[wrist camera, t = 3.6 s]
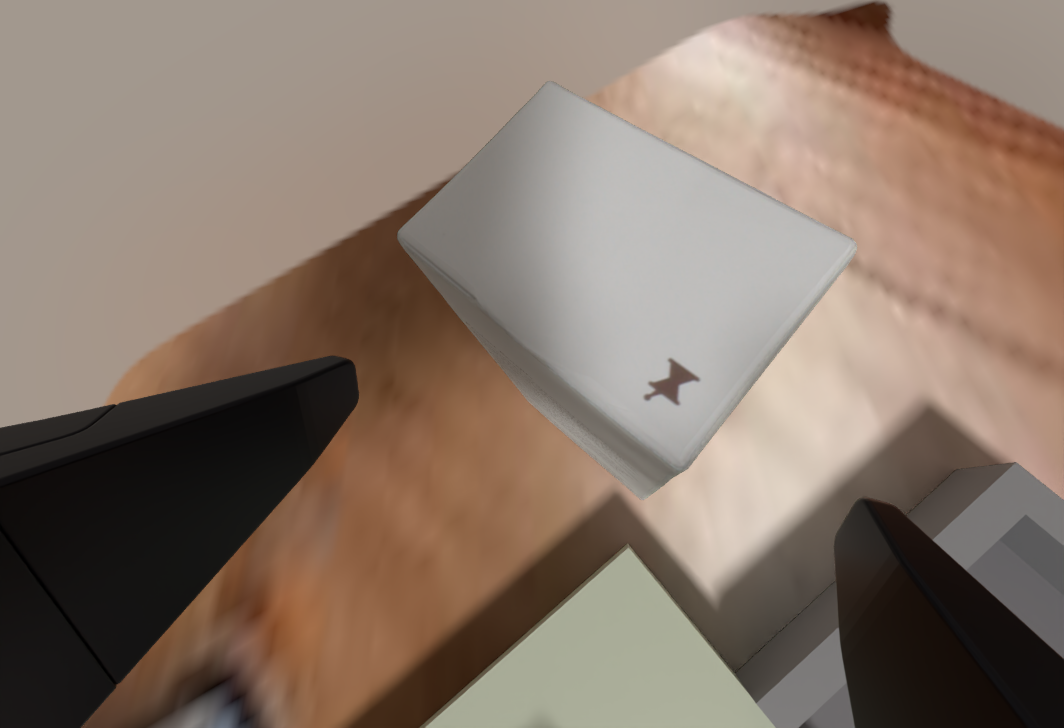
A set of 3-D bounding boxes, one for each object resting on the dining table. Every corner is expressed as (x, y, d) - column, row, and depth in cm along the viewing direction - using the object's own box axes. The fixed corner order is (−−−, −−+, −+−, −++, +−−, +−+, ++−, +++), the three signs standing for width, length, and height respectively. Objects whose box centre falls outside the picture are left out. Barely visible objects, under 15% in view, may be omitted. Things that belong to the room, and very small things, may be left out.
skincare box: (714, 415, 17) (884, 244, 6) (642, 503, 17) (683, 490, 6) (590, 322, 19) (548, 65, 8) (522, 398, 19) (379, 238, 8)
